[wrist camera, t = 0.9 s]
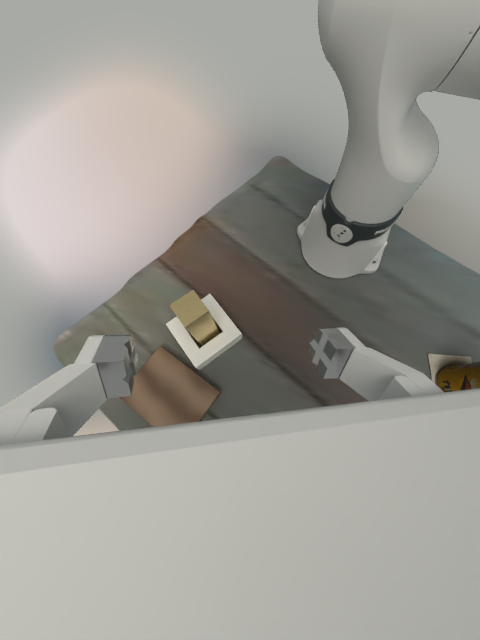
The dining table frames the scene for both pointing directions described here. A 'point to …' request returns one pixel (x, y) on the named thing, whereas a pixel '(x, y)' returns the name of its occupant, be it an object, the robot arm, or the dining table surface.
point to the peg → (195, 317)
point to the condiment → (454, 372)
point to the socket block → (213, 347)
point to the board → (170, 391)
